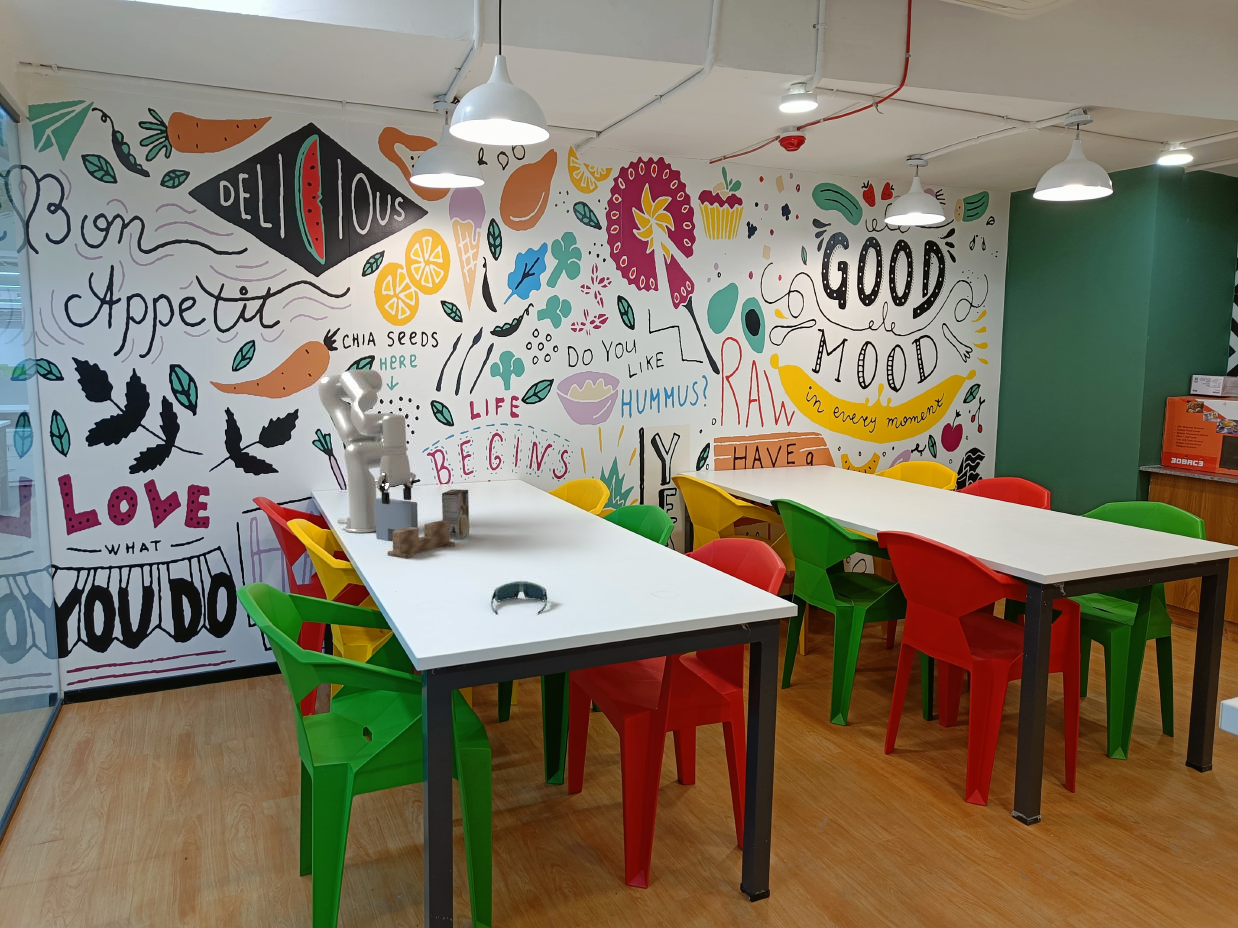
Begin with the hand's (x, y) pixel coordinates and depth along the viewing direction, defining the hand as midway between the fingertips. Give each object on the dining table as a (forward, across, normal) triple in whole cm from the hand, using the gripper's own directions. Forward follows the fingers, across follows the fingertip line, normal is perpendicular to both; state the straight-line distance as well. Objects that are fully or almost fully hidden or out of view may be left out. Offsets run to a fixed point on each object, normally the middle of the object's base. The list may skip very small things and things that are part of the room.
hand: (396, 501), depth 289 cm
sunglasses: (+16, +35, +81) cm, 90 cm away
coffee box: (+14, -17, +11) cm, 24 cm away
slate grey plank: (+14, 0, -1) cm, 14 cm away
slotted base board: (+14, +5, +16) cm, 22 cm away
